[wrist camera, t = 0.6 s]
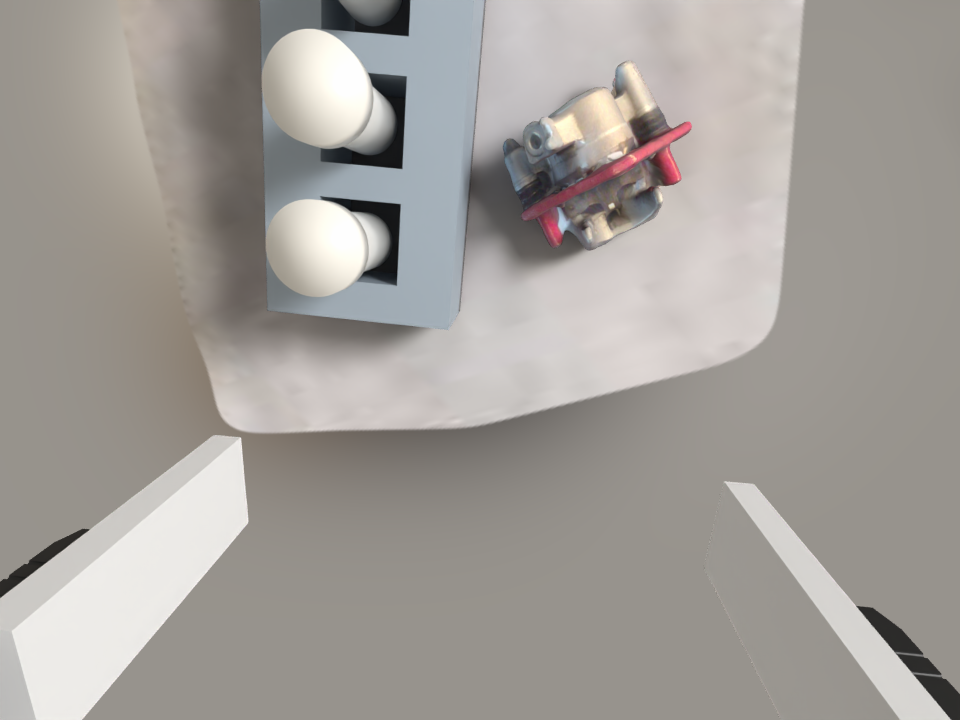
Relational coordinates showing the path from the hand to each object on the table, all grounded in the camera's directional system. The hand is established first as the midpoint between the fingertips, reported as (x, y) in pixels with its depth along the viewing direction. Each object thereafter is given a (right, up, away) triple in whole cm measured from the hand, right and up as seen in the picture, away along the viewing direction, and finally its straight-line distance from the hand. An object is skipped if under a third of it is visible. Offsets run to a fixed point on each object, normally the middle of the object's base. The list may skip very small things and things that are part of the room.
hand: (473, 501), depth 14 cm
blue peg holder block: (-6, +20, +22) cm, 31 cm away
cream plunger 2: (-7, +12, +19) cm, 23 cm away
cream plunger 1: (-7, +18, +17) cm, 26 cm away
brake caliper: (+8, +17, +23) cm, 30 cm away
